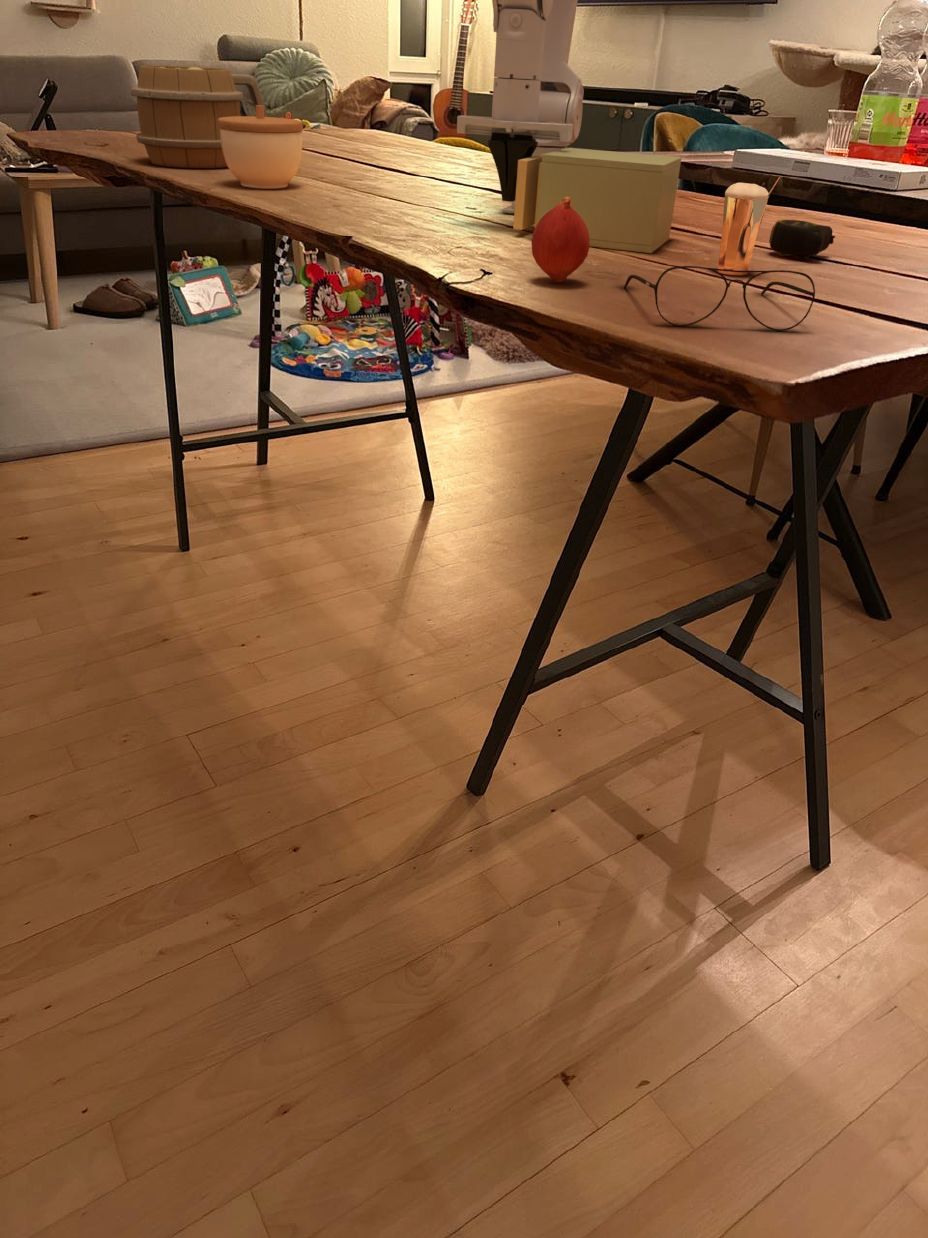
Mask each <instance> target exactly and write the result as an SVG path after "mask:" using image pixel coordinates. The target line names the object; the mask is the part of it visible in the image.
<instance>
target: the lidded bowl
mask: <svg viewBox="0 0 928 1238" xmlns="http://www.w3.org/2000/svg"><path fill="white" fill-rule="evenodd" d="M218 127H219V129H220V140H221V147H222V152H223V155H224V159H225V162H226V164H227V166H228V167H227V168H228V169H229V171H230V173H231V174H232V175H233V176H234V177H235V178H236V179H237V181H239V183H240V186H242V187H245V188H251V189H263V190H264V189H265V190H268V189H270V190H272V189H273V190H274V189H284V188H288V186H289V185H288V184H289V183H290V182H291V181H292V179H294V177H295V176H296V174H297V173H298V171H299V169H300V165H301V161H302V155H303V131H304V125H303V122H302V120H298V119H292V118H286V117H275V116H274V117H273V116H267V117H264V106H262V105H256V111H255V115H254V116H252V115H247V116H246V115H245V116H243V115H242V116H241V115H240V116H234V117H222V118H219V119H218Z"/></svg>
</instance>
